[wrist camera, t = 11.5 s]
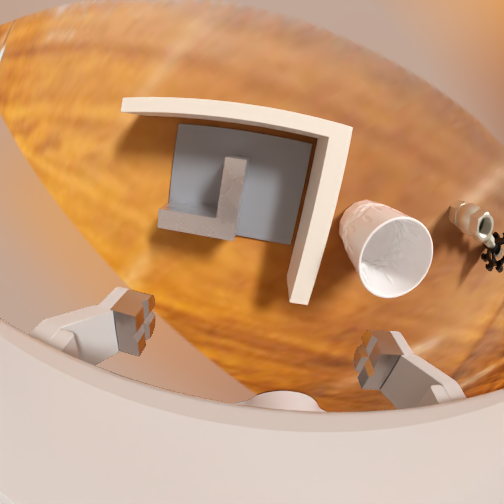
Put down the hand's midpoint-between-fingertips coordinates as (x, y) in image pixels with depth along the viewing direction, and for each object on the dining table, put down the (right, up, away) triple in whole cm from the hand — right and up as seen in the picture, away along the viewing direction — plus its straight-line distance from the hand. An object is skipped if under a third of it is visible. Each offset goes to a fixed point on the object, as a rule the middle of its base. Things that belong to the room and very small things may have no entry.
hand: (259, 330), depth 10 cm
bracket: (-4, +10, +20) cm, 23 cm away
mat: (-2, +11, +20) cm, 23 cm away
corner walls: (-3, +10, +21) cm, 23 cm away
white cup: (+13, +6, +21) cm, 26 cm away
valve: (+31, +7, +20) cm, 38 cm away
